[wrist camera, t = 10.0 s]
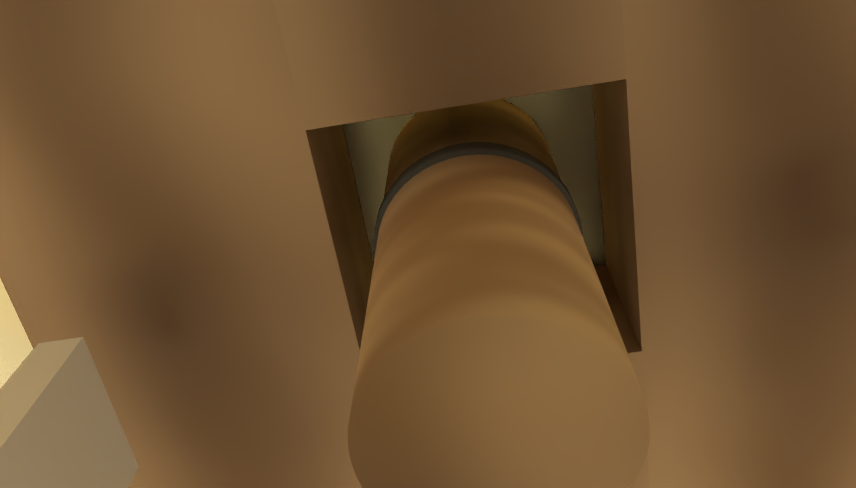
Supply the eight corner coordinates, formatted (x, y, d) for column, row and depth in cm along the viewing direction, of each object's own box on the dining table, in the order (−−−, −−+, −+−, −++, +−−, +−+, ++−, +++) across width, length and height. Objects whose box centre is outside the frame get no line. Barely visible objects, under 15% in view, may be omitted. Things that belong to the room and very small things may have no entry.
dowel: (545, 77, 18) (648, 285, 9) (561, 236, 20) (661, 538, 11) (370, 105, 19) (309, 333, 10) (401, 258, 20) (374, 570, 11)
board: (933, -286, 15) (1087, -331, 12) (868, 385, 22) (951, 487, 18) (-39, -99, 17) (-169, -87, 13) (185, 469, 24) (140, 579, 20)
